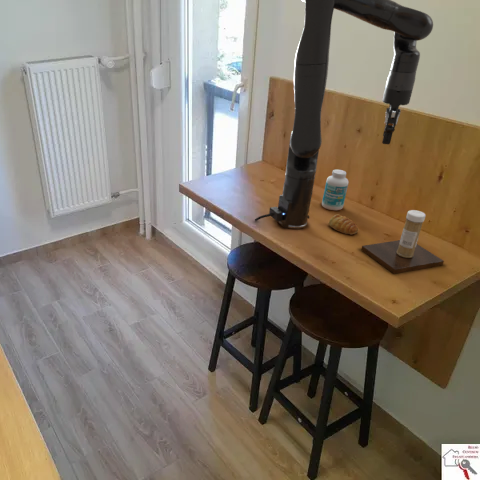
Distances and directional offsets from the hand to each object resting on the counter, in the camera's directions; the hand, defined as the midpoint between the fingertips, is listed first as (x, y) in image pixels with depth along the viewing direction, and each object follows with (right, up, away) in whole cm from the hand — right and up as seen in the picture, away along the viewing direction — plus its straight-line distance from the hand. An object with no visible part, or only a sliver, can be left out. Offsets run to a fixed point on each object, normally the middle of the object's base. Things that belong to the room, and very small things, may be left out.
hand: (386, 140), depth 148 cm
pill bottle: (-9, -20, +23) cm, 31 cm away
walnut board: (0, -36, -9) cm, 38 cm away
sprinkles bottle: (0, -36, -10) cm, 37 cm away
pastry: (-11, -28, +8) cm, 31 cm away
